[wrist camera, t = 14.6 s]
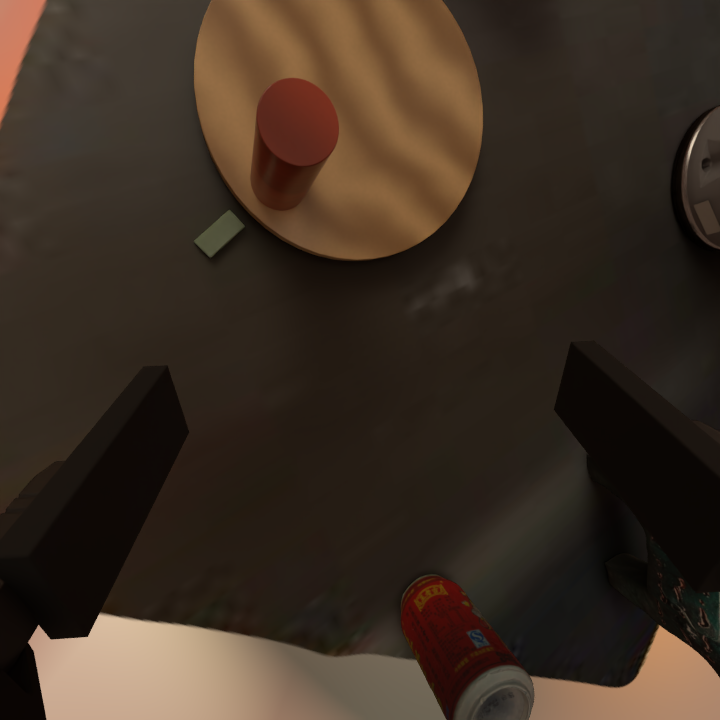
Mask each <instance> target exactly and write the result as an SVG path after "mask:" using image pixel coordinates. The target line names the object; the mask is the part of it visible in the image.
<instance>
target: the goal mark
mask: <svg viewBox="0 0 720 720" xmlns="http://www.w3.org/2000/svg"><path fill="white" fill-rule="evenodd" d="M244 228H245V225H244V224H243V223H242V222H241V221H240V220H239V219H238V218H237V217H236V216H235V215H234V213H233V212H232V211H231V210H228V211H227V212H226V213H225V214H224V215H223V216H221V217H220V218H219V219H218V220H217V221H216V222H215V223H214V224H212V225H211V226H210V227H209V228H208V229H207V230H206V231H205V232H203V233H202V234H201V235H200V236H199V237H198V238H197V239H196V240H195V241H194V242H195V243H196V244H197V246H198V247H199V248H200V249H201V250H202V251H203V252H204V253H205V254H206V255H207V256H208V257H209V258H212V257H213V256H214V255H215V254H216V253H217V252H218V251H219V250H220V249H222V248H223V247H224V246H225V245H226V244H227V243H228V242H229V241H230V240H232V239H233V238H234V237H235V236H236V235H237V234H238V233H239V232H240V231H241V230H243V229H244Z"/></svg>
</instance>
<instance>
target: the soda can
mask: <svg viewBox="0 0 720 720" xmlns="http://www.w3.org/2000/svg"><path fill="white" fill-rule="evenodd" d="M401 627H402V631H403V634H404V636H405V638H406V640H407V642H408V644H409V646H410V648H411V650H412V652H413V654H414V656H415V657H416V660H417V662H418V663H419V665H420V667H421V670H422V671H423V674H424V675H425V677H426V680H427V682H428V684H429V686H430V688H431V689H432V691H433V693H434V695H435V697H436V699H437V702H438V704H439V705H440V707H441V709H442V712H443V714H444V716H445V718H446V719H447V720H529V717H530V714H531V709H532V707H533V703H534V688H533V683H532V680H531V678H530V676H529V675H528V673H527V672H526V670H525V669H524V668H523V666H522V665H521V664H520V662H519V661H518V660H517V659H516V657H515V656H514V655H513V653H512V652H511V651H510V650H509V648H508V647H507V646H506V645H505V643H504V642H503V641H502V640H501V638H500V637H499V636H498V634H497V633H496V632H495V631H494V629H493V628H492V627H491V626H490V624H489V623H488V622H487V621H486V619H485V618H484V617H483V615H482V614H481V613H480V612H479V610H478V609H477V608H476V607H475V605H474V604H473V603H472V602H471V600H470V599H469V598H468V596H467V595H466V594H465V592H464V591H463V590H462V589H461V588H460V587H459V586H458V585H457V584H456V583H454V582H452V581H450V580H447V579H444V578H443V577H441V576H439V575H426V576H422V577H420V578H418V579H417V580H415V581H414V582H413V583H412V584H411V585H409V587H408V588H407V589H406V591H405V592H404V594H403V597H402V599H401Z"/></svg>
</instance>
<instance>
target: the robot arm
mask: <svg viewBox="0 0 720 720" xmlns="http://www.w3.org/2000/svg"><path fill="white" fill-rule="evenodd" d="M673 199H674V205H675V210H676V213H677V216H678V219H679V222H680V224H681V226H682V228H683V230H684V231H685V233H686V234H687V235H688V237H689V238H690V239H691V240H692V241H693V242H694V243H695V244H697V245H698V246H700V247H702V248H704V249H706V250H710V251H720V105H719V106H717V107H714V108H712V109H710V110H708V111H706V112H705V113H703V114H702V115H701V116H700V117H699V118H698V119H696V121H695V122H694V123H693V124H692V125H691V127H690V128H689V129H688V131H687V133H686V134H685V136H684V138H683V140H682V142H681V145H680V147H679V150H678V153H677V156H676V160H675V165H674V171H673ZM554 410H555V412H556V413H557V414H558V416H559V417H560V418H561V419H562V421H563V422H564V423H565V425H566V426H567V427H568V428H569V430H570V431H571V432H572V434H573V435H574V436H575V438H576V439H577V440H578V441H579V443H580V444H581V445H582V447H583V448H584V449H585V450H586V452H587V453H588V454H589V456H590V457H591V458H592V460H593V461H594V462H595V463H596V465H597V466H598V467H599V469H600V470H601V471H602V472H603V474H604V475H605V476H606V478H607V479H608V480H609V482H610V483H611V484H612V485H613V487H614V488H615V489H616V491H617V492H618V493H619V494H620V496H621V497H622V498H623V500H624V501H625V502H626V504H627V505H628V506H629V507H630V509H631V510H632V511H633V513H634V514H635V515H636V516H637V518H638V519H639V520H640V522H641V523H642V524H643V525H644V527H645V528H646V529H647V531H648V532H649V533H650V535H651V536H652V537H653V538H654V540H655V541H656V542H657V544H658V545H659V546H660V547H661V549H662V550H663V551H664V553H665V554H666V555H667V557H668V558H669V559H670V560H671V562H672V563H673V564H674V566H675V567H676V568H677V569H678V571H679V572H680V573H681V575H682V576H683V577H684V579H685V580H686V581H687V582H688V584H689V585H690V586H691V588H692V589H693V590H694V591H695V593H708V592H720V432H719V431H717V430H715V429H713V428H711V427H710V426H708V425H706V424H704V423H702V422H700V421H698V420H693V421H691V420H690V419H689V418H687V417H686V416H685V415H684V414H683V413H681V412H680V411H679V410H678V409H676V408H675V407H674V406H673V405H672V404H670V403H669V402H668V401H667V400H666V399H664V398H663V397H662V396H661V395H659V394H658V393H657V392H656V391H655V390H653V389H652V388H651V387H650V386H648V385H647V384H646V383H645V382H644V381H642V380H641V379H640V378H639V377H638V376H636V375H635V374H634V373H633V372H631V371H630V370H629V369H628V368H627V367H625V366H624V365H623V364H622V363H620V362H619V361H618V360H617V359H616V358H614V357H613V356H612V355H611V354H610V353H608V352H607V351H606V350H605V349H603V348H602V347H601V346H600V345H599V344H597V343H596V342H595V341H581V342H571V344H570V348H569V352H568V356H567V360H566V364H565V368H564V372H563V376H562V380H561V384H560V388H559V392H558V396H557V400H556V404H555V408H554ZM188 433H189V430H188V427H187V424H186V421H185V418H184V415H183V412H182V409H181V406H180V403H179V399H178V396H177V393H176V390H175V387H174V384H173V381H172V378H171V375H170V372H169V369H168V366H167V365H166V366H149V367H143V368H142V369H141V370H140V371H139V373H138V374H137V375H136V376H135V377H134V379H133V380H132V381H131V382H130V384H129V385H128V386H127V387H126V388H125V390H124V391H123V392H122V393H121V394H120V396H119V397H118V398H117V399H116V400H115V402H114V403H113V404H112V405H111V406H110V408H109V409H108V410H107V411H106V413H105V414H104V415H103V416H102V417H101V419H100V420H99V421H98V422H97V423H96V425H95V426H94V427H93V428H92V429H91V431H90V432H89V433H88V434H87V435H86V437H85V438H84V439H83V440H82V442H81V443H80V444H79V445H78V446H77V448H76V449H75V450H74V451H73V452H72V454H71V455H70V456H69V457H68V458H67V460H66V461H55V462H54V463H53V464H51V465H50V466H49V467H47V468H46V469H44V470H43V471H42V472H40V473H39V474H38V475H36V476H35V477H34V478H33V479H32V480H31V481H30V482H29V483H28V485H27V486H26V487H25V488H24V489H23V490H22V491H21V493H20V494H19V497H18V498H15V499H14V500H13V502H12V503H11V504H10V505H9V506H8V507H7V508H6V512H5V513H2V514H1V515H0V720H46V715H45V710H44V704H43V699H42V693H41V689H40V683H39V677H38V672H37V667H36V661H35V656H34V652H33V650H32V648H31V647H30V645H29V644H28V641H29V640H30V638H31V636H32V635H33V633H34V631H35V630H36V628H37V626H38V625H40V627H41V628H42V629H43V630H44V631H45V633H46V634H47V635H48V637H50V639H64V638H78V637H88V635H89V633H90V631H91V629H92V627H93V625H94V623H95V621H96V619H97V617H98V615H99V613H100V611H101V609H102V607H103V605H104V603H105V601H106V599H107V597H108V595H109V593H110V591H111V589H112V587H113V585H114V583H115V581H116V579H117V576H118V574H119V572H120V570H121V568H122V566H123V564H124V562H125V560H126V558H127V556H128V554H129V552H130V550H131V548H132V546H133V544H134V542H135V540H136V538H137V536H138V534H139V532H140V530H141V528H142V526H143V524H144V522H145V520H146V518H147V516H148V514H149V512H150V510H151V508H152V506H153V504H154V502H155V500H156V498H157V496H158V494H159V492H160V490H161V488H162V486H163V484H164V482H165V480H166V478H167V476H168V474H169V472H170V470H171V468H172V466H173V464H174V462H175V460H176V458H177V456H178V453H179V451H180V449H181V447H182V445H183V443H184V441H185V439H186V437H187V435H188Z"/></svg>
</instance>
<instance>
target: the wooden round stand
mask: <svg viewBox="0 0 720 720" xmlns="http://www.w3.org/2000/svg"><path fill="white" fill-rule="evenodd" d="M194 89H195V97H196V105H197V111H198V116H199V120H200V124H201V128H202V132H203V136H204V140H205V142H206V145H207V147H208V150H209V153H210V155H211V158H212V160H213V162H214V164H215V166H216V168H217V170H218V172H219V174H220V175H221V177H222V179H223V181H224V182H225V184H226V185H227V187H228V188H229V190H230V191H231V193H232V194H233V195H234V197H235V198H236V199H237V201H238V202H239V203H240V204H241V205H242V206H243V207H244V209H245V210H246V211H247V212H248V213H249V214H250V215H251V216H252V217H253V218H254V219H255V220H256V221H258V222H259V223H260V224H261V225H262V226H263V227H264V228H265V229H267V230H268V231H270V232H271V233H273V234H274V235H275V236H277V237H278V238H280V239H281V240H283V241H285V242H287V243H288V244H290V245H292V246H294V247H296V248H298V249H300V250H303V251H305V252H308V253H311V254H313V255H316V256H320V257H325V258H329V259H333V260H343V261H368V260H373V259H379V258H384V257H387V256H390V255H393V254H396V253H399V252H402V251H405V250H407V249H409V248H411V247H413V246H415V245H417V244H419V243H420V242H422V241H423V240H425V239H426V238H427V237H429V236H430V235H432V234H433V233H434V232H435V231H436V230H437V229H438V228H439V227H441V226H442V225H443V224H444V223H445V222H446V221H447V219H448V218H449V217H450V216H451V214H452V213H453V212H454V211H455V210H456V208H457V206H458V205H459V203H460V202H461V200H462V198H463V197H464V195H465V193H466V191H467V189H468V187H469V184H470V182H471V180H472V178H473V175H474V172H475V168H476V165H477V162H478V158H479V153H480V148H481V141H482V130H483V105H482V97H481V89H480V84H479V79H478V75H477V70H476V66H475V63H474V60H473V58H472V55H471V52H470V49H469V46H468V44H467V42H466V40H465V38H464V35H463V33H462V31H461V29H460V27H459V25H458V24H457V22H456V20H455V19H454V17H453V15H452V14H451V12H450V10H449V9H448V8H447V6H446V5H445V4H444V2H443V1H442V0H211V3H210V5H209V7H208V9H207V11H206V13H205V16H204V18H203V21H202V25H201V28H200V32H199V35H198V39H197V46H196V53H195V60H194Z"/></svg>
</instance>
